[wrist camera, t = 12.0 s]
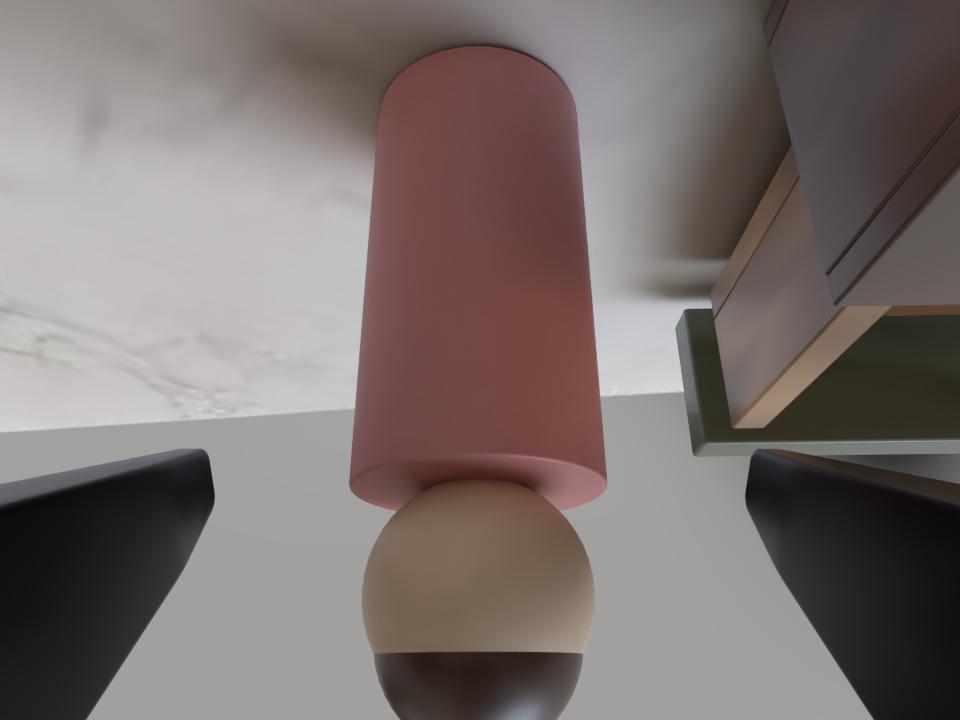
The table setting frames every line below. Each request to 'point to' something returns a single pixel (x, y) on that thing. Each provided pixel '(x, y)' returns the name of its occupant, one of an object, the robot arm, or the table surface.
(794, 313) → the drawer
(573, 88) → the table surface
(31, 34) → the table surface
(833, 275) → the organizer
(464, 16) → the table surface
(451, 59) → the doll
